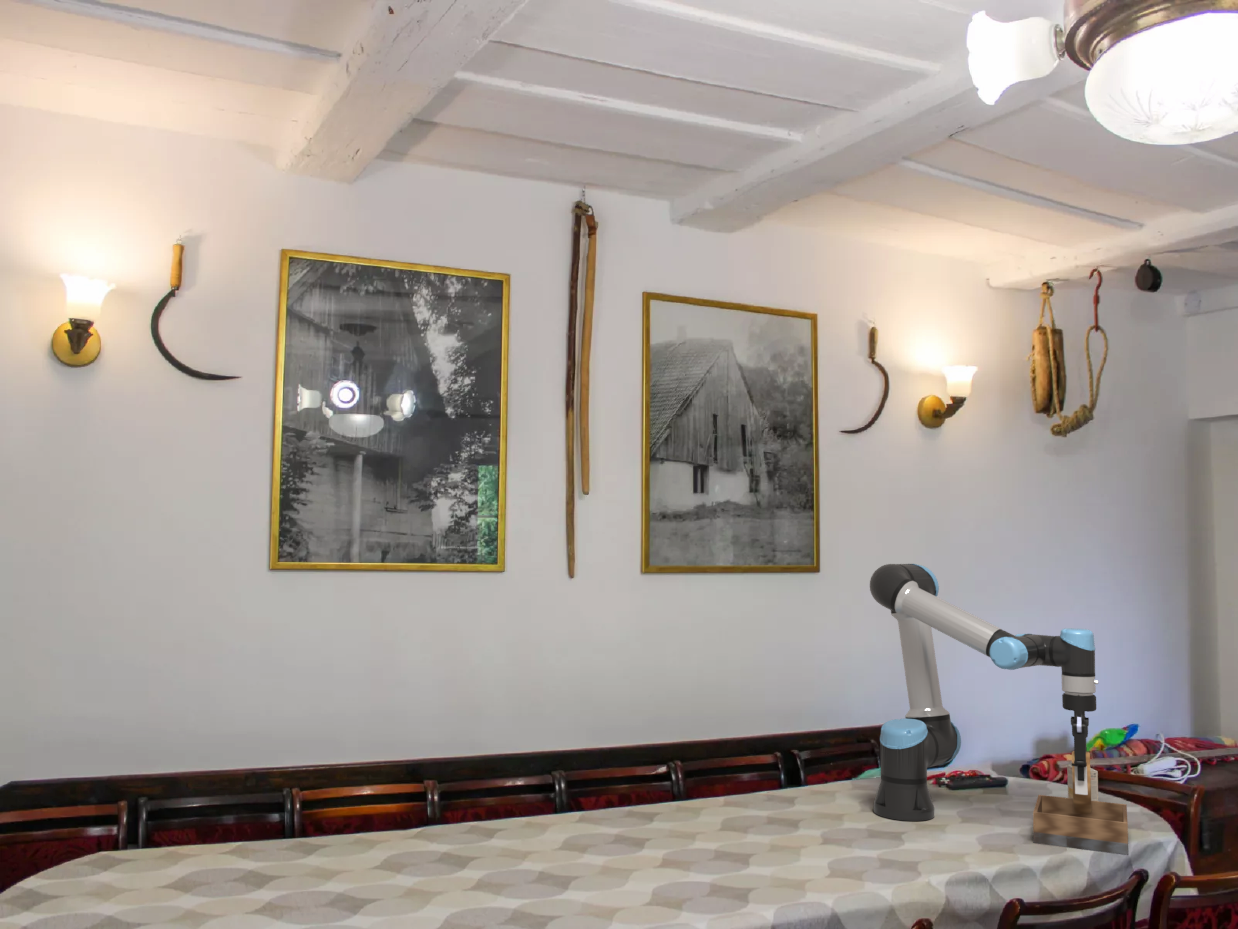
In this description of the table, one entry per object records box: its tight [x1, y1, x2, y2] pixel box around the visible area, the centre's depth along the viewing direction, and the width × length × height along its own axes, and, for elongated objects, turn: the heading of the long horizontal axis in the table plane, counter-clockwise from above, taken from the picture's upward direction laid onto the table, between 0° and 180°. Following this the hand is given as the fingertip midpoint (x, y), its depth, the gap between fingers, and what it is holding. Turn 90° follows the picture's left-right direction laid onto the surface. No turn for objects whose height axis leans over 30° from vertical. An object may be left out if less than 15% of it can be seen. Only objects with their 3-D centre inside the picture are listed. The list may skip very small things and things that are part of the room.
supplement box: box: [1066, 764, 1099, 801], centre depth 268 cm, size 8×5×13 cm, turn 179°
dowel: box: [1071, 750, 1092, 814], centre depth 250 cm, size 4×4×14 cm
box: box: [1032, 794, 1129, 856], centre depth 249 cm, size 20×20×7 cm
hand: (1081, 792), depth 250 cm, fingers closed on dowel, 4 cm apart
